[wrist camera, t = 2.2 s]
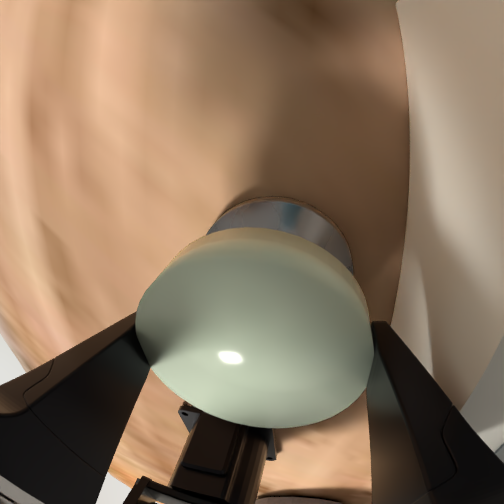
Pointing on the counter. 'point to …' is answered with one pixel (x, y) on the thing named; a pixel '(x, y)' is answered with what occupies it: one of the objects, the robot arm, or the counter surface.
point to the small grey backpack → (293, 500)
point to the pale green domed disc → (258, 329)
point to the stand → (288, 223)
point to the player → (456, 205)
